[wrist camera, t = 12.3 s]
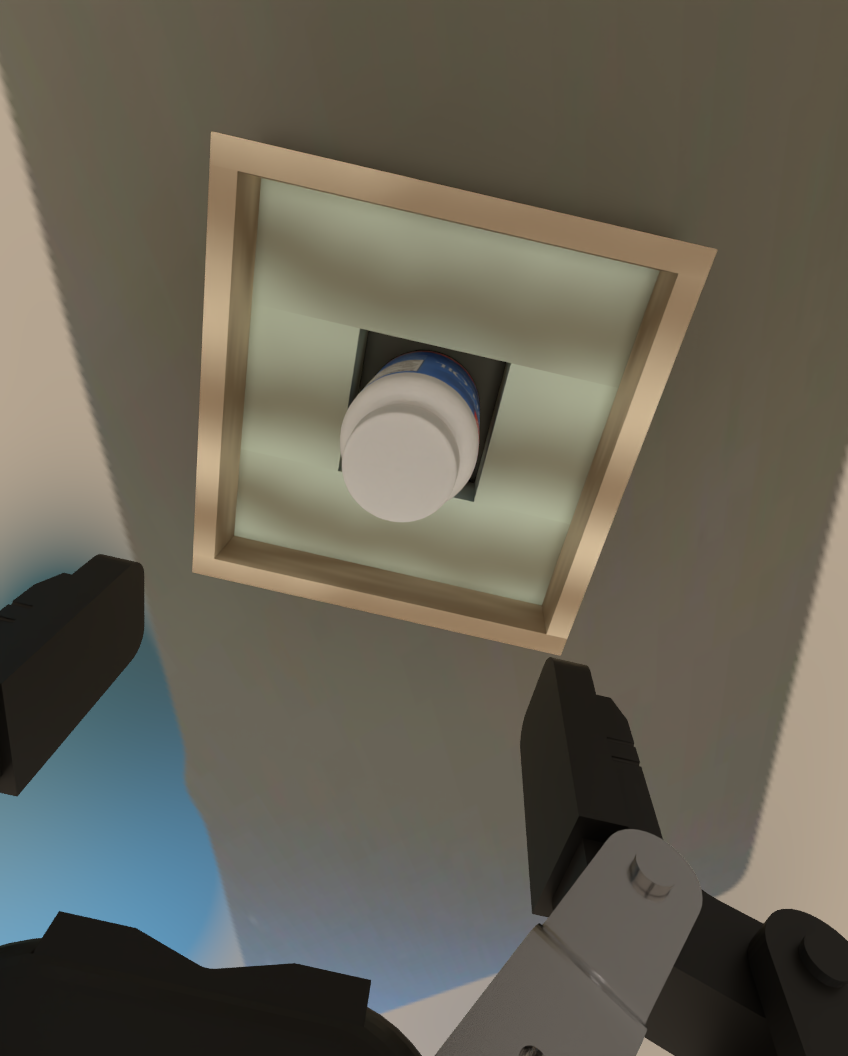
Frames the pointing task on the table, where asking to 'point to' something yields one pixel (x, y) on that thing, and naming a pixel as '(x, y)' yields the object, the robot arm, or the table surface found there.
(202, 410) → the bore box
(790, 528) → the table surface
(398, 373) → the pill bottle
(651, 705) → the table surface
